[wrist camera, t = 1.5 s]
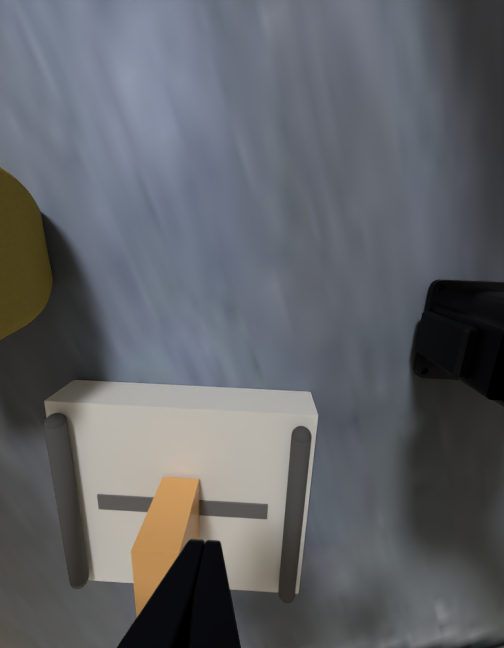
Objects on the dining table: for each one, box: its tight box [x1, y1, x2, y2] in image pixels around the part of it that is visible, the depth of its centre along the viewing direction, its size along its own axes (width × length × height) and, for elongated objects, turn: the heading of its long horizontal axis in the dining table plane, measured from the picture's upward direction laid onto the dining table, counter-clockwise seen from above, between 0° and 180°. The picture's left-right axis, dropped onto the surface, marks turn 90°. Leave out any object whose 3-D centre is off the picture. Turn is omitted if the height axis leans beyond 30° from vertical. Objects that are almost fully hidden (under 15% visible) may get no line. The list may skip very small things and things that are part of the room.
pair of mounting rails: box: [44, 413, 312, 603], centre depth 19 cm, size 16×14×1 cm
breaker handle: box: [131, 477, 200, 617], centre depth 17 cm, size 2×5×5 cm, turn 178°
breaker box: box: [44, 380, 318, 594], centre depth 21 cm, size 17×15×3 cm
